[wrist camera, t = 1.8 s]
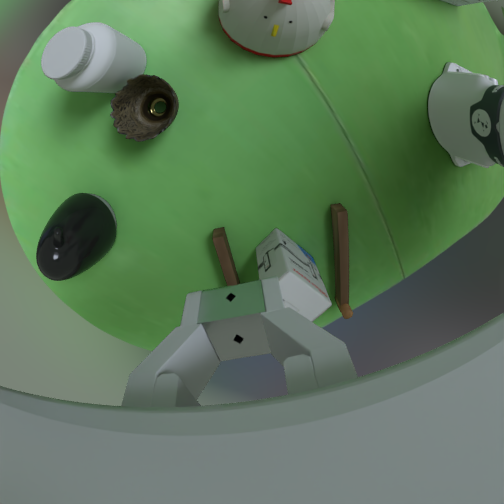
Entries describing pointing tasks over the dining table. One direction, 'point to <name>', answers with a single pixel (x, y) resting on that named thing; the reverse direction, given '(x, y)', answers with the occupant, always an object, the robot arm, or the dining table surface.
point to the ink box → (293, 274)
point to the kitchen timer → (275, 24)
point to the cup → (143, 107)
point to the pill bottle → (92, 59)
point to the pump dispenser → (76, 236)
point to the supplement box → (464, 2)
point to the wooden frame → (339, 256)
